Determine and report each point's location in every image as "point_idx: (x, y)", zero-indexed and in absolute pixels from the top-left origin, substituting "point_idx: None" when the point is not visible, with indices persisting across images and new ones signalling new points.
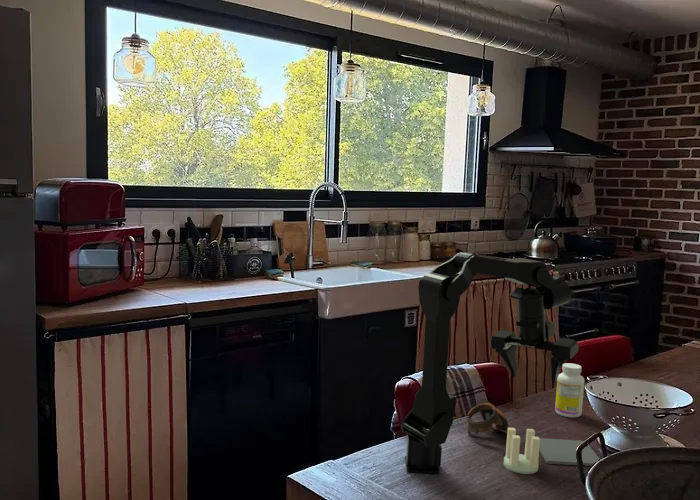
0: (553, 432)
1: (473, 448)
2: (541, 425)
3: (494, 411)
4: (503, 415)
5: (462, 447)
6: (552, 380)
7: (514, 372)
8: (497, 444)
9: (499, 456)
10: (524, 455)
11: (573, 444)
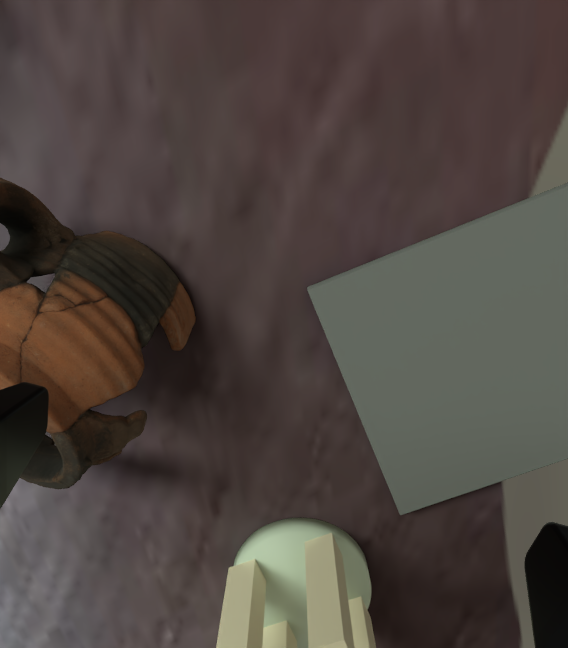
0: (405, 98)
1: (83, 512)
2: (326, 11)
3: (64, 446)
4: (122, 377)
5: (40, 524)
6: (537, 622)
7: (6, 494)
8: (162, 422)
9: (203, 533)
10: (305, 544)
11: (519, 268)
